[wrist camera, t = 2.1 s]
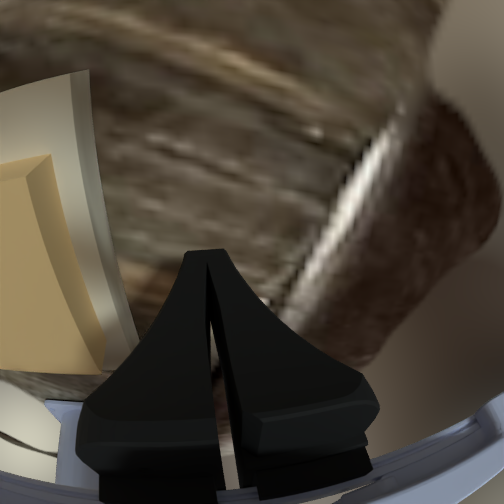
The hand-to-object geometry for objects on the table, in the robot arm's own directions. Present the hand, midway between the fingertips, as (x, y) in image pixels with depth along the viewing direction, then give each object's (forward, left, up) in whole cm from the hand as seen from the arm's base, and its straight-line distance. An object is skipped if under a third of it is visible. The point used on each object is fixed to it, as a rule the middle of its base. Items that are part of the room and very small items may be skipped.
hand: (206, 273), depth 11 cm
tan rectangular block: (0, +8, 0) cm, 8 cm away
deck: (0, +8, -3) cm, 9 cm away
